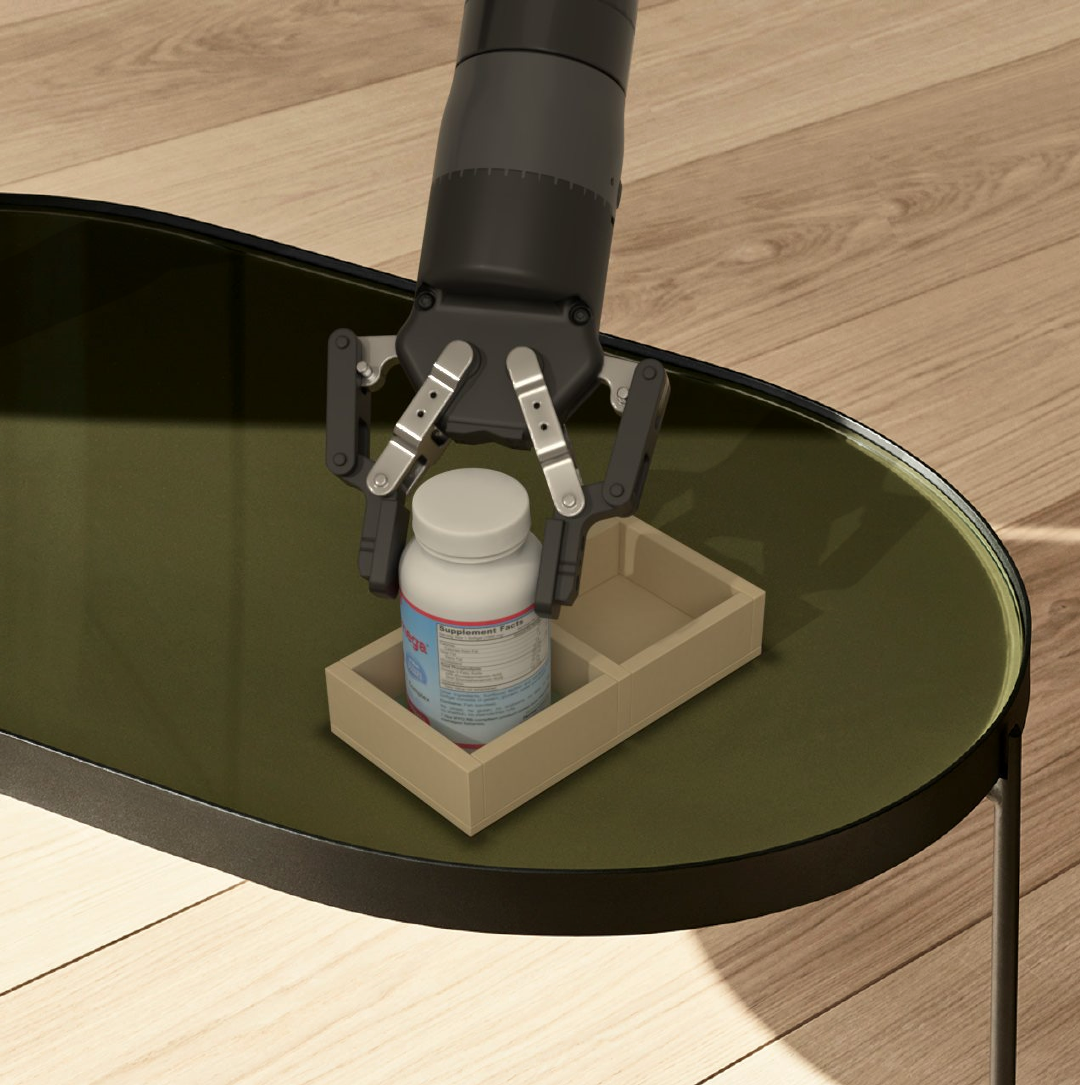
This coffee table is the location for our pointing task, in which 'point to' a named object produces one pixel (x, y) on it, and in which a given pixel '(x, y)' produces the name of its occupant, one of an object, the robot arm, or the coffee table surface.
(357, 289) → the coffee table surface
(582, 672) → the holder
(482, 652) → the pill bottle
